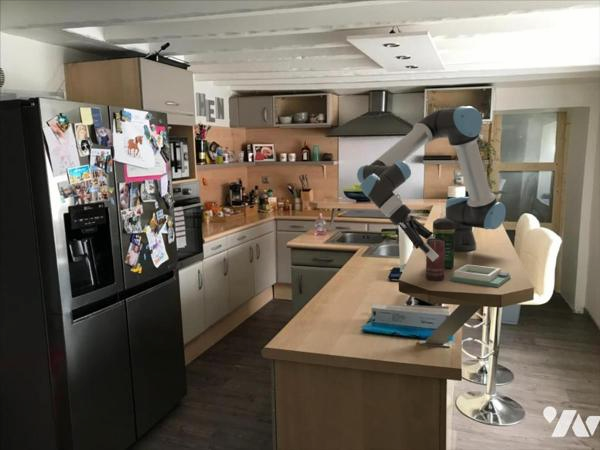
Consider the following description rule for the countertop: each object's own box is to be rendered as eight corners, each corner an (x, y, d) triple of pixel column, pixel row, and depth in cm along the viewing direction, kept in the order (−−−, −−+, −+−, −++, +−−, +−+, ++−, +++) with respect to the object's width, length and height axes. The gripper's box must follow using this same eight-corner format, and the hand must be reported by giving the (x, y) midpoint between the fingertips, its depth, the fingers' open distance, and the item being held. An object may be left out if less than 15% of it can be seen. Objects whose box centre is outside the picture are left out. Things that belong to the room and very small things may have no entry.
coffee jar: (455, 269, 184) (456, 220, 181) (434, 269, 185) (434, 220, 182) (451, 263, 194) (452, 217, 191) (430, 263, 195) (431, 217, 192)
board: (464, 271, 180) (465, 263, 180) (510, 277, 170) (510, 268, 170) (450, 280, 169) (450, 271, 169) (497, 287, 159) (498, 277, 159)
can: (426, 281, 169) (427, 241, 167) (425, 276, 175) (425, 237, 173) (445, 281, 168) (445, 241, 166) (443, 276, 174) (443, 238, 172)
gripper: (396, 213, 186) (436, 254, 182) (379, 222, 164) (424, 270, 160) (410, 199, 183) (451, 241, 179) (395, 207, 161) (441, 255, 157)
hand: (439, 254), depth 170 cm, fingers open, 13 cm apart
